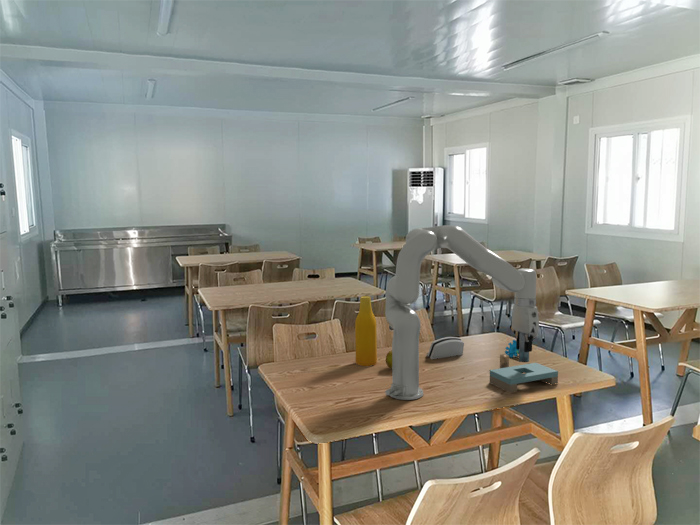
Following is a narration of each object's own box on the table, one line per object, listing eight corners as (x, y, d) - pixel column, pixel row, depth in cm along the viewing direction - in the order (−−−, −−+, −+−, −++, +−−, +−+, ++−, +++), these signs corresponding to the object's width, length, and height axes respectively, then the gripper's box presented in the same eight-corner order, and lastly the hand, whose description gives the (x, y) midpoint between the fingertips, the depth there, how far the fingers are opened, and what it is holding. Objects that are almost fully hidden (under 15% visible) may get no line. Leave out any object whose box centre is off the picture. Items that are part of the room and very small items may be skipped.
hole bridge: (510, 392, 196) (510, 379, 195) (489, 382, 207) (489, 370, 206) (557, 384, 204) (558, 371, 204) (535, 374, 215) (535, 362, 215)
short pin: (506, 371, 220) (506, 357, 219) (498, 370, 222) (498, 355, 221) (510, 369, 222) (510, 355, 222) (502, 368, 225) (502, 353, 224)
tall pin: (526, 362, 202) (527, 331, 201) (517, 361, 204) (517, 329, 203) (530, 360, 205) (531, 329, 203) (521, 358, 207) (521, 328, 206)
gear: (500, 350, 245) (516, 334, 245) (508, 358, 247) (523, 342, 247) (512, 360, 235) (528, 343, 234) (520, 368, 237) (536, 352, 236)
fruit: (402, 364, 232) (402, 346, 231) (412, 370, 223) (412, 351, 223) (382, 367, 228) (382, 348, 228) (391, 373, 220) (391, 354, 219)
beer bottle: (375, 367, 229) (375, 299, 226) (354, 366, 231) (353, 298, 227) (378, 360, 238) (377, 295, 235) (357, 360, 240) (356, 295, 236)
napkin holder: (456, 351, 250) (461, 333, 246) (462, 357, 246) (467, 339, 242) (425, 356, 243) (429, 337, 239) (430, 362, 239) (434, 343, 235)
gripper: (549, 304, 196) (548, 354, 198) (517, 297, 211) (516, 343, 213) (533, 306, 193) (532, 357, 195) (501, 299, 208) (501, 346, 210)
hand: (524, 349), depth 204 cm, fingers closed on tall pin, 3 cm apart
